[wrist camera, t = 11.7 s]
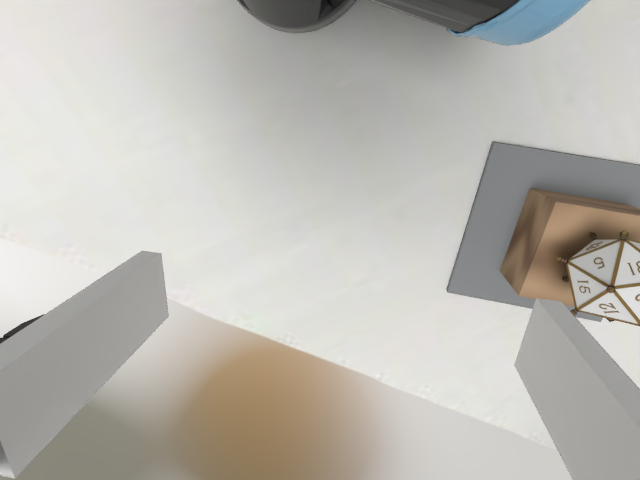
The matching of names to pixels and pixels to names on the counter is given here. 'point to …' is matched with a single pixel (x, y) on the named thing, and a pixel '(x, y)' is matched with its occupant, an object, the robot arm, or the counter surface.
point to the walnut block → (559, 239)
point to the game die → (606, 278)
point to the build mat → (506, 205)
